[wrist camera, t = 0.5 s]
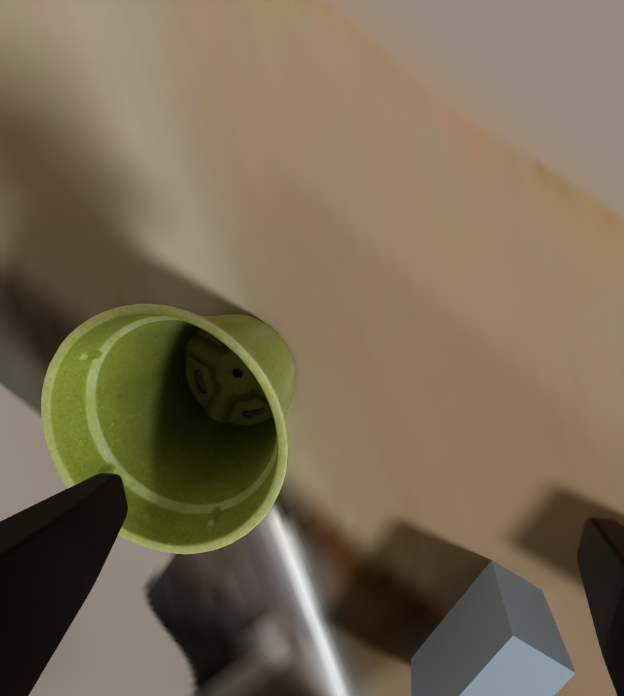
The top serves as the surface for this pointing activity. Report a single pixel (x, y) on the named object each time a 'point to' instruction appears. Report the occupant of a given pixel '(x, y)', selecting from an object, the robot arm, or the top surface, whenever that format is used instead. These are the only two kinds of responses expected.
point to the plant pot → (173, 420)
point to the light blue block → (494, 643)
